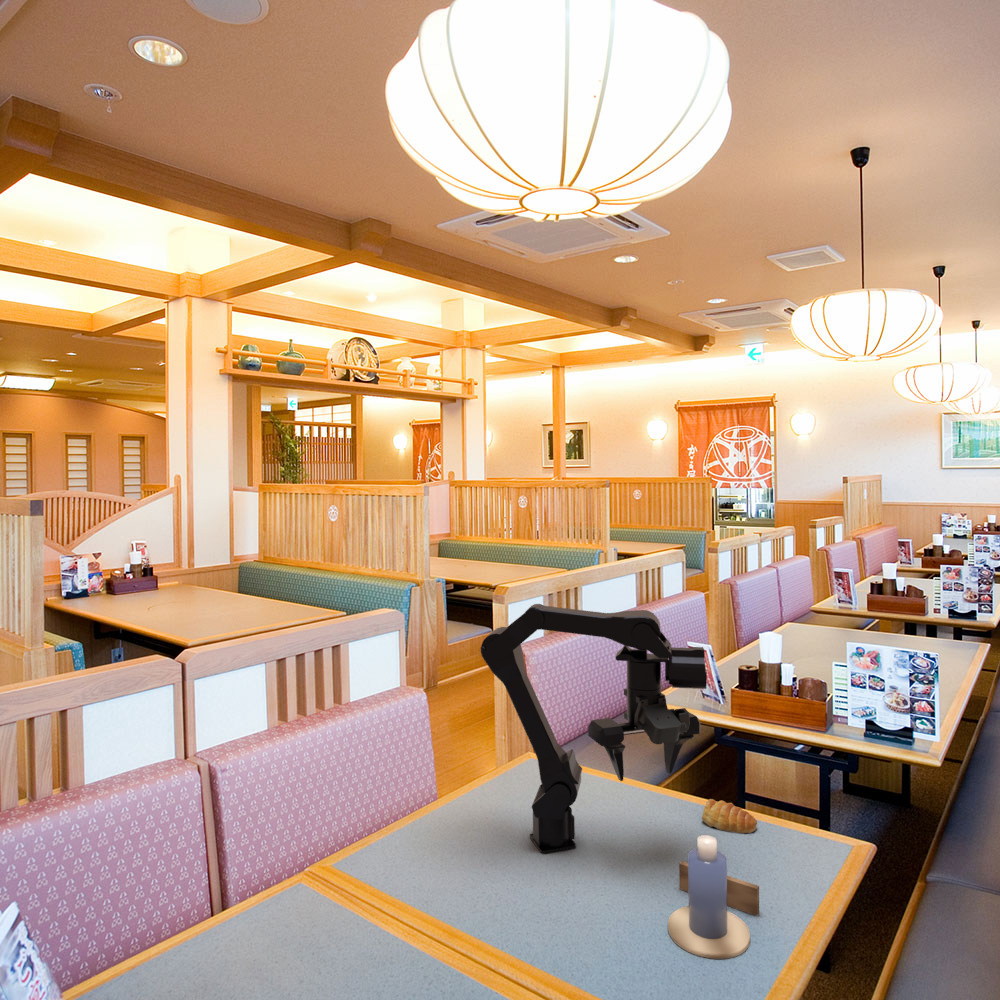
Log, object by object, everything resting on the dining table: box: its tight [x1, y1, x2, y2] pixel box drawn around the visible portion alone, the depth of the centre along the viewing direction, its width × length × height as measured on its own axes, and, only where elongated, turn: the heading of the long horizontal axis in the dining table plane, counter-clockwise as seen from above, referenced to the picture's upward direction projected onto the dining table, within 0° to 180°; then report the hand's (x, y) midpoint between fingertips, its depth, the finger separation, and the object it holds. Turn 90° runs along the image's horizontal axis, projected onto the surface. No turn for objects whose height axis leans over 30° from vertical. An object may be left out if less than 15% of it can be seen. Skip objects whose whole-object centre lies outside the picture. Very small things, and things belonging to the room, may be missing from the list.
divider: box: [678, 860, 760, 917], centre depth 111 cm, size 12×1×4 cm, turn 52°
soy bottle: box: [687, 834, 728, 939], centre depth 103 cm, size 5×5×12 cm
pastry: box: [701, 798, 758, 834], centre depth 135 cm, size 9×7×4 cm
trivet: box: [667, 905, 751, 960], centre depth 103 cm, size 11×11×1 cm
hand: (645, 776), depth 125 cm, fingers open, 9 cm apart
